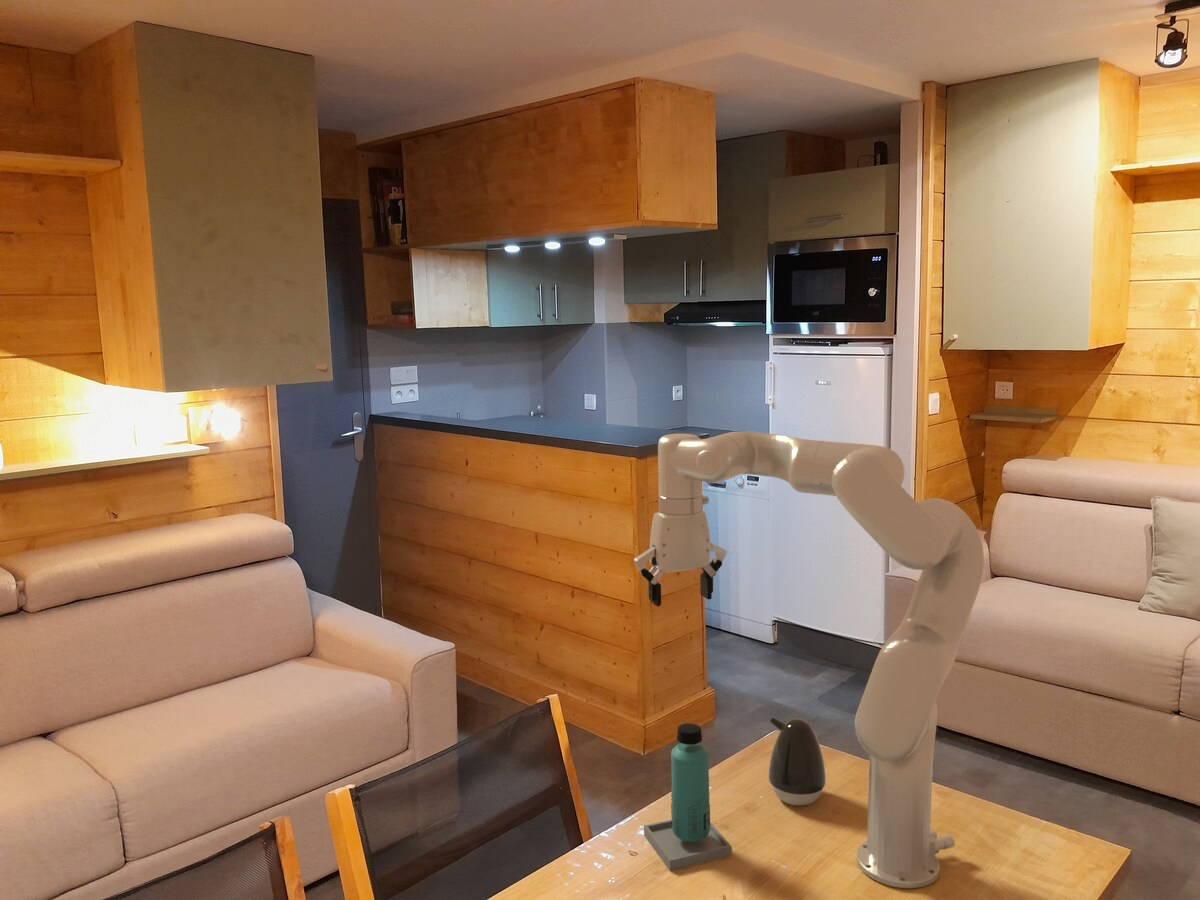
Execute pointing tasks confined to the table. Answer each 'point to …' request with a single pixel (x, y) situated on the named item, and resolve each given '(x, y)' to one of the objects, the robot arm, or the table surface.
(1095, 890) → the table surface
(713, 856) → the tray
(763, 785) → the table surface
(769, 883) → the table surface
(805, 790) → the pump dispenser
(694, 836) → the beverage bottle
